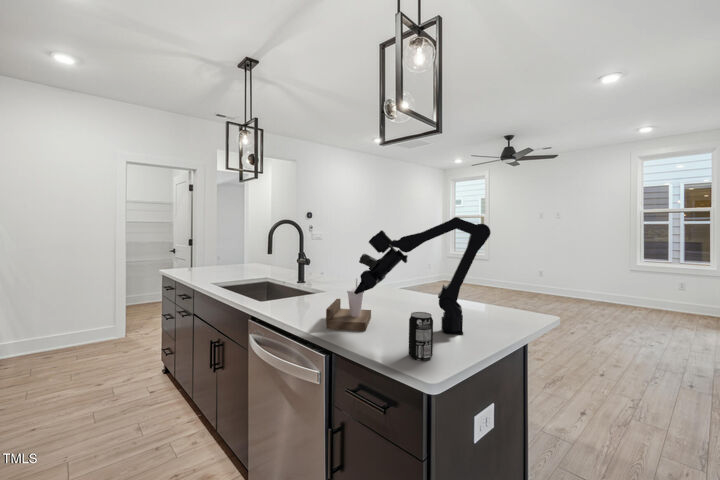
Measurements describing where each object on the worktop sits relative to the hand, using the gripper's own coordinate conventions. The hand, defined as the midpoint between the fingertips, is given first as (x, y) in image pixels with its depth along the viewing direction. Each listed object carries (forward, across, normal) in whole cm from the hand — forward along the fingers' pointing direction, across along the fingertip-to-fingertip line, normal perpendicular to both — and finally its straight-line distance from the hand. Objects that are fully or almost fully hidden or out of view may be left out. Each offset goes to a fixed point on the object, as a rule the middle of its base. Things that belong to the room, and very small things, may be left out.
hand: (358, 291), depth 125 cm
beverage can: (-9, +26, +27) cm, 38 cm away
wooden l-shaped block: (+11, 0, +6) cm, 13 cm away
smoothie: (+7, +1, +6) cm, 9 cm away
